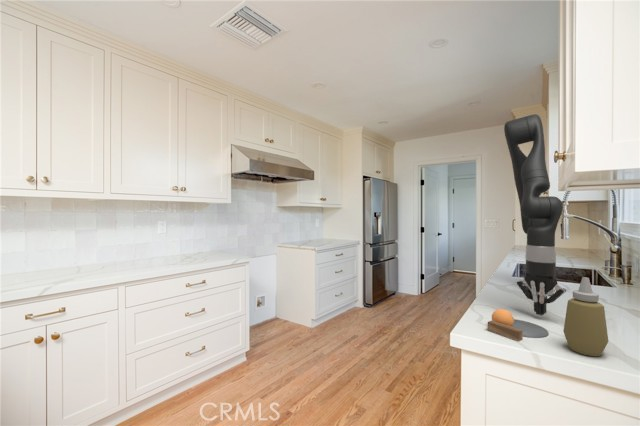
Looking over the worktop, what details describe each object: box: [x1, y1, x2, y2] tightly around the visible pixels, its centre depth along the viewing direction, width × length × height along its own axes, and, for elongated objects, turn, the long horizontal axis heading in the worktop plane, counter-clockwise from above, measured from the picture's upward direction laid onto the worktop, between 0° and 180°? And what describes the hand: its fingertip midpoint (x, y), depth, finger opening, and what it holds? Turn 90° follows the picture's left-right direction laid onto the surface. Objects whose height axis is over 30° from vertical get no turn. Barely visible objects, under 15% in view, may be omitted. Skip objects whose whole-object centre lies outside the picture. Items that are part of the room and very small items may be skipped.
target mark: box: [512, 318, 549, 339], centre depth 84 cm, size 13×13×1 cm
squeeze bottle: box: [563, 276, 609, 357], centre depth 70 cm, size 8×8×18 cm
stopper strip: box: [487, 319, 523, 342], centre depth 79 cm, size 2×8×2 cm, turn 32°
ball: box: [491, 308, 514, 327], centre depth 83 cm, size 6×6×6 cm
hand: (539, 314), depth 91 cm, fingers closed
